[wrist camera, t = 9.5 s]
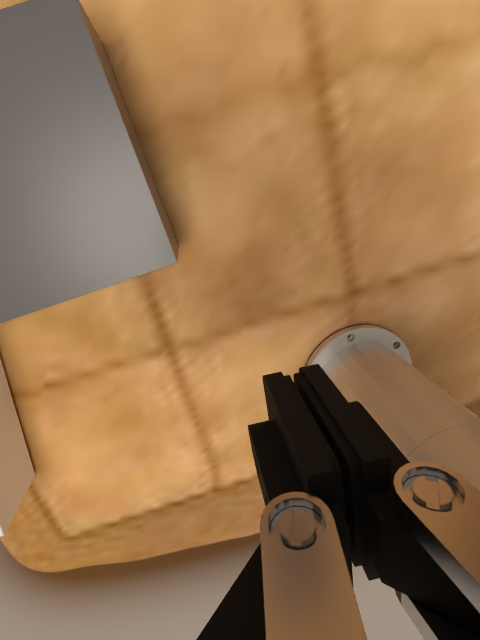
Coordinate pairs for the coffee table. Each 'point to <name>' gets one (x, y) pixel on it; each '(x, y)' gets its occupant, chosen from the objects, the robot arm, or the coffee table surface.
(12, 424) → the side door
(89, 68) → the gray cabinet
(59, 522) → the coffee table surface
